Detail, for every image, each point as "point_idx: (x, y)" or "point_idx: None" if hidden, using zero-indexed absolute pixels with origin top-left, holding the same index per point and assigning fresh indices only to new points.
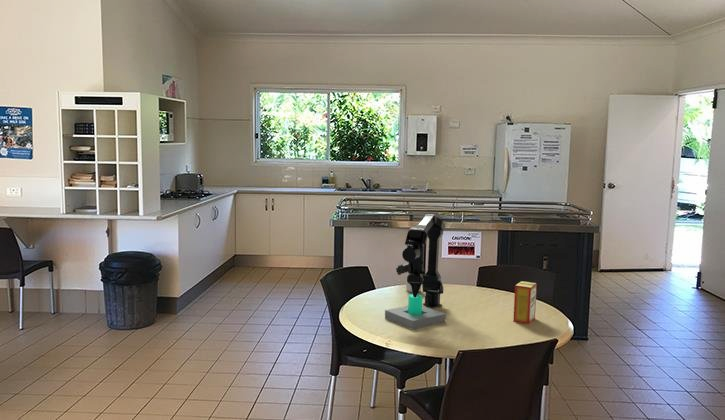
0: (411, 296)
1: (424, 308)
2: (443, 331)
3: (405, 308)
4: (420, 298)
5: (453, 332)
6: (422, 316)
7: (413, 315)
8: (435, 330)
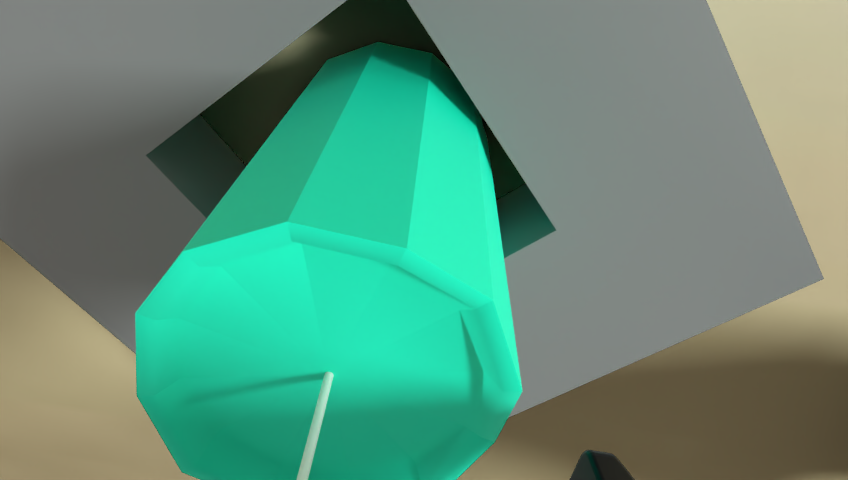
0: (323, 285)
1: (554, 341)
2: (21, 371)
3: (578, 51)
4: (206, 441)
5: (26, 437)
6: (137, 266)
7: (149, 145)
8: (23, 311)
